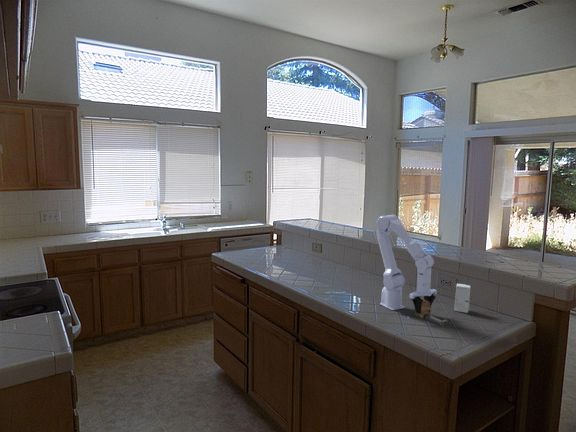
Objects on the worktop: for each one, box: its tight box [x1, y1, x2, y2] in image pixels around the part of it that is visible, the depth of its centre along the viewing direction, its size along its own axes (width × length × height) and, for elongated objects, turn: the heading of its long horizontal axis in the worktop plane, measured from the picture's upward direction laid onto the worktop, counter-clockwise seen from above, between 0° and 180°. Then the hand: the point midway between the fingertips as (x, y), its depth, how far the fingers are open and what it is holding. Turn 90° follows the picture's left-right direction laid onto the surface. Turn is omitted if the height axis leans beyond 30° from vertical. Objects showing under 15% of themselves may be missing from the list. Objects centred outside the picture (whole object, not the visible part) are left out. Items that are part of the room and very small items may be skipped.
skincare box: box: [453, 283, 472, 314], centre depth 179 cm, size 6×4×12 cm
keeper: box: [414, 299, 431, 319], centre depth 173 cm, size 4×5×6 cm
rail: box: [413, 306, 448, 327], centre depth 169 cm, size 16×3×4 cm, turn 26°
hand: (422, 311), depth 173 cm, fingers closed on keeper, 5 cm apart
